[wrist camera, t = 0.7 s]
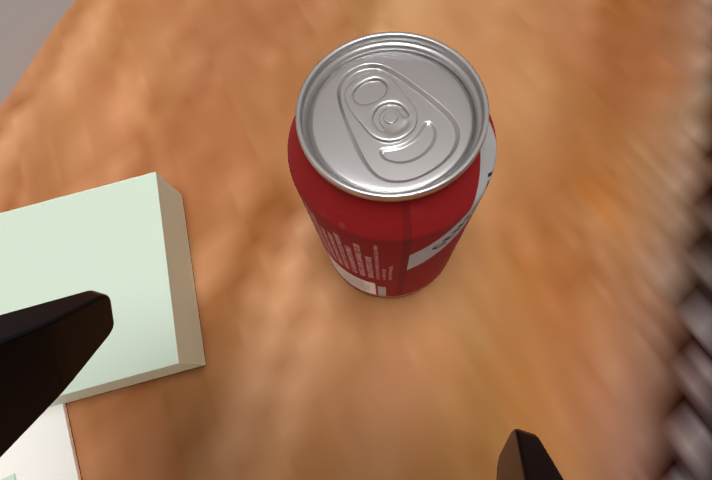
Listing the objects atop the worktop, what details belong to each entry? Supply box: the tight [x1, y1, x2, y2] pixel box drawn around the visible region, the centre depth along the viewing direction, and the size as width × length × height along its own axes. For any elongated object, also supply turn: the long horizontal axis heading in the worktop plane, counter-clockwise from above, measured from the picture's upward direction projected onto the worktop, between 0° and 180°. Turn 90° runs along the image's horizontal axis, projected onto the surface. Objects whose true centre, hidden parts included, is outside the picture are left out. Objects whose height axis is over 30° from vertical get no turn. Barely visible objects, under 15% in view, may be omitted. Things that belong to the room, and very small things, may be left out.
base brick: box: [0, 172, 206, 407], centre depth 22 cm, size 10×10×3 cm
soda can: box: [288, 32, 497, 297], centre depth 18 cm, size 7×7×12 cm
